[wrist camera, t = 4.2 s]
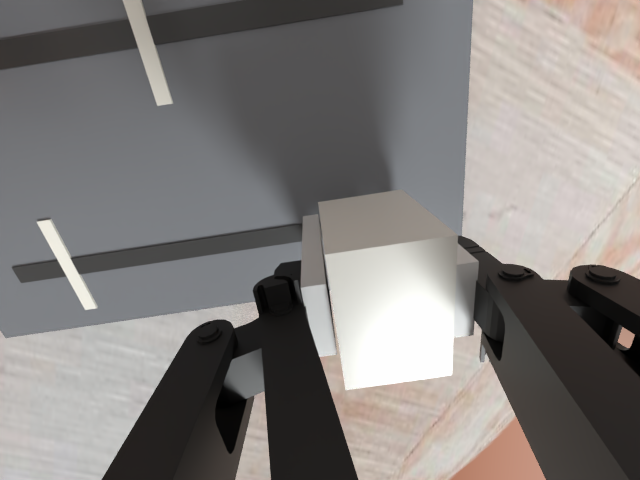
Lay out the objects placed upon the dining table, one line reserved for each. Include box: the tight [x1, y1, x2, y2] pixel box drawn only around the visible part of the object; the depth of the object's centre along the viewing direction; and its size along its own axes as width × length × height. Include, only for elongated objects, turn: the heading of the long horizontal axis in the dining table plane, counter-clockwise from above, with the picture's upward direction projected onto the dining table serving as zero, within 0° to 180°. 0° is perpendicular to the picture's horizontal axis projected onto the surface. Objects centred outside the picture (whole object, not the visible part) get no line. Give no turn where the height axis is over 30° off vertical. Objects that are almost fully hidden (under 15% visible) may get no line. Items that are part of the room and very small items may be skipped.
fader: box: [318, 189, 458, 390], centre depth 12 cm, size 5×4×8 cm
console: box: [0, 0, 473, 338], centre depth 15 cm, size 18×28×2 cm, turn 98°
